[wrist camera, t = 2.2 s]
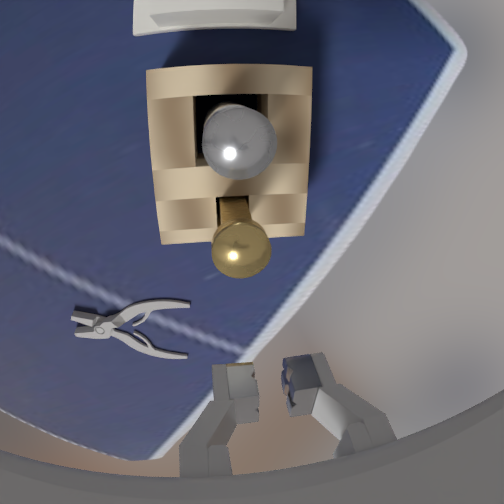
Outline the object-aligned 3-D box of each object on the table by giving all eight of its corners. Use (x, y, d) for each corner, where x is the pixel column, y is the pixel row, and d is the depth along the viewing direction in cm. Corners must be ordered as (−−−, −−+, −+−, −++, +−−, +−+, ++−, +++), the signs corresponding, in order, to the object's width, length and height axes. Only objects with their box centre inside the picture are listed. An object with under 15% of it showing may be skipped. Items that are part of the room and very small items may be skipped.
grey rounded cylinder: (205, 145, 27) (203, 181, 17) (203, 102, 25) (200, 109, 15) (249, 143, 27) (276, 178, 17) (248, 100, 25) (277, 107, 15)
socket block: (168, 218, 30) (161, 244, 25) (157, 74, 23) (146, 70, 18) (288, 211, 31) (304, 235, 27) (293, 70, 24) (312, 67, 20)
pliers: (187, 364, 39) (79, 353, 36) (187, 355, 40) (82, 345, 37) (189, 307, 34) (65, 295, 31) (189, 299, 35) (69, 287, 33)
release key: (211, 225, 27) (213, 280, 20) (208, 185, 25) (210, 227, 18) (252, 223, 27) (270, 276, 20) (252, 183, 25) (272, 224, 18)
